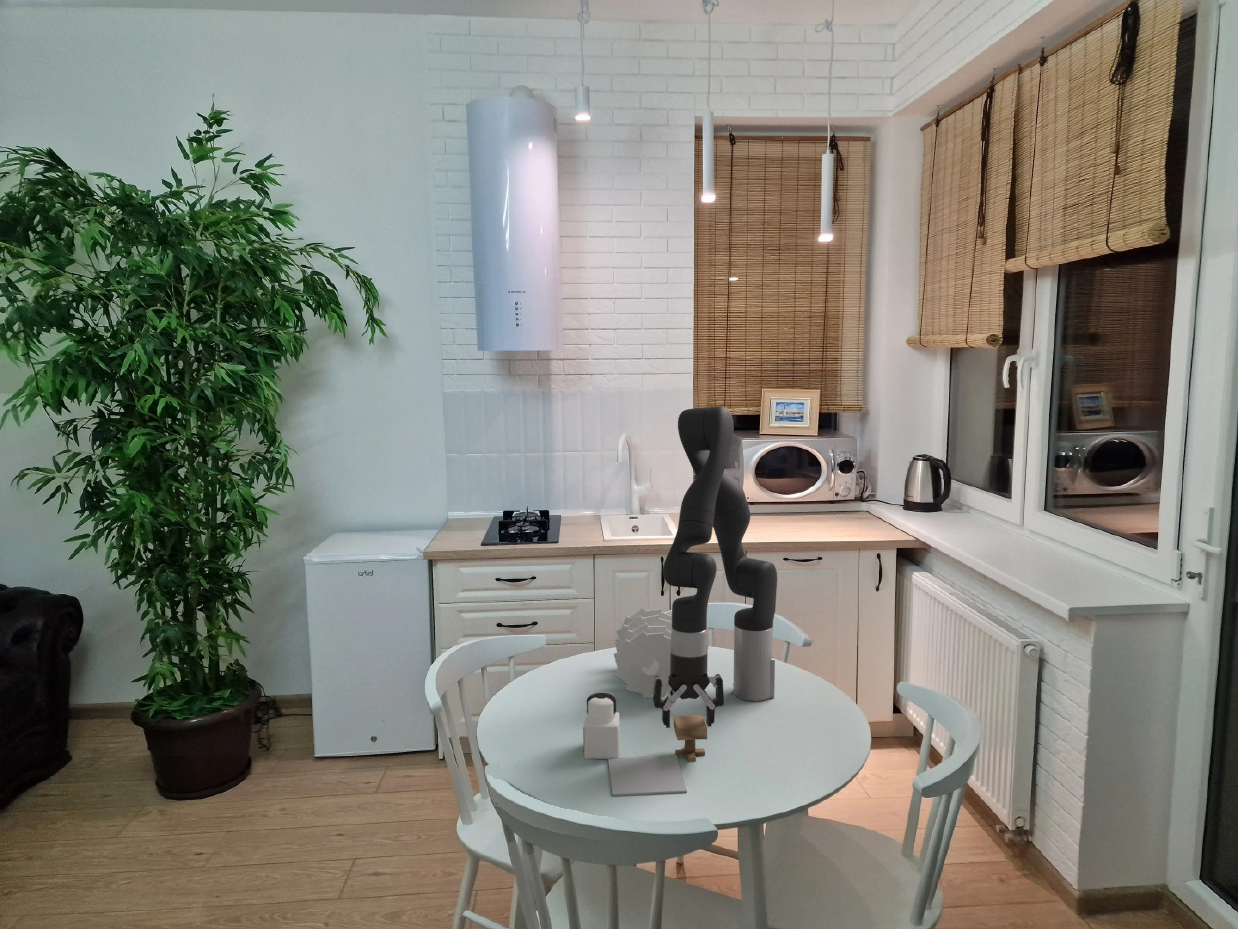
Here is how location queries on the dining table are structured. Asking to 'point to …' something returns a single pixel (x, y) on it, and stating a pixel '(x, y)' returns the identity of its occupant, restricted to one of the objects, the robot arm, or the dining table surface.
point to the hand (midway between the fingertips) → (688, 725)
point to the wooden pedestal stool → (690, 734)
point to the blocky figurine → (601, 727)
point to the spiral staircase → (644, 650)
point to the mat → (646, 775)
